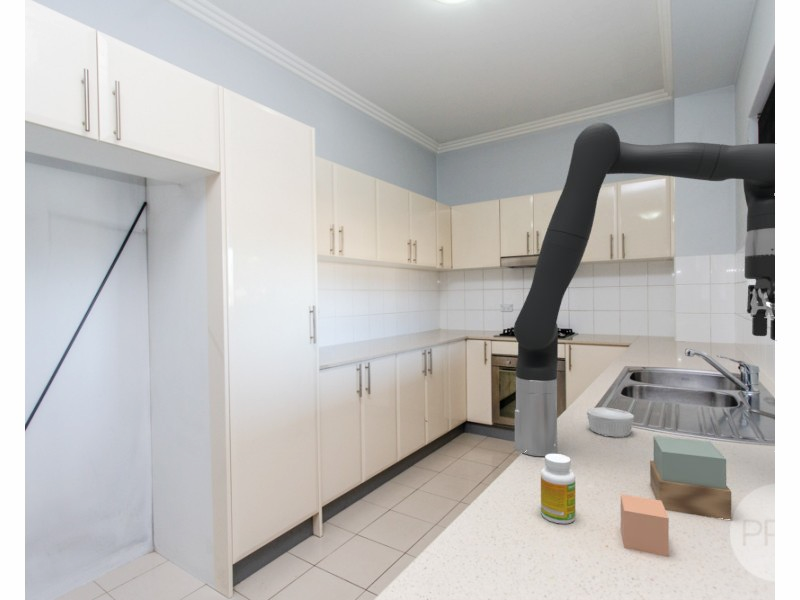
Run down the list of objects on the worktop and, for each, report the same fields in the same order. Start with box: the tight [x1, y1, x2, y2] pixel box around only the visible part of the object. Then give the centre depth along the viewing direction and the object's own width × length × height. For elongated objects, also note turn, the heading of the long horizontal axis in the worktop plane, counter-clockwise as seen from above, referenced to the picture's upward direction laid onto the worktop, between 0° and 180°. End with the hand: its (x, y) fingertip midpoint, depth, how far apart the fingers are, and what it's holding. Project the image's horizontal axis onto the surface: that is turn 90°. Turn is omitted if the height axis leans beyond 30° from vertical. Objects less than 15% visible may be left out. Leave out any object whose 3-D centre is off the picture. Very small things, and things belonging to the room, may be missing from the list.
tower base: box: [649, 460, 732, 520], centre depth 75 cm, size 10×10×5 cm
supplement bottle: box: [540, 453, 576, 525], centre depth 70 cm, size 5×5×10 cm
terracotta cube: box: [620, 493, 670, 558], centre depth 63 cm, size 6×6×6 cm
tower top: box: [653, 435, 727, 489], centre depth 75 cm, size 9×9×5 cm
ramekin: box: [586, 407, 635, 438], centre depth 113 cm, size 11×11×5 cm
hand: (768, 338), depth 81 cm, fingers open, 8 cm apart
